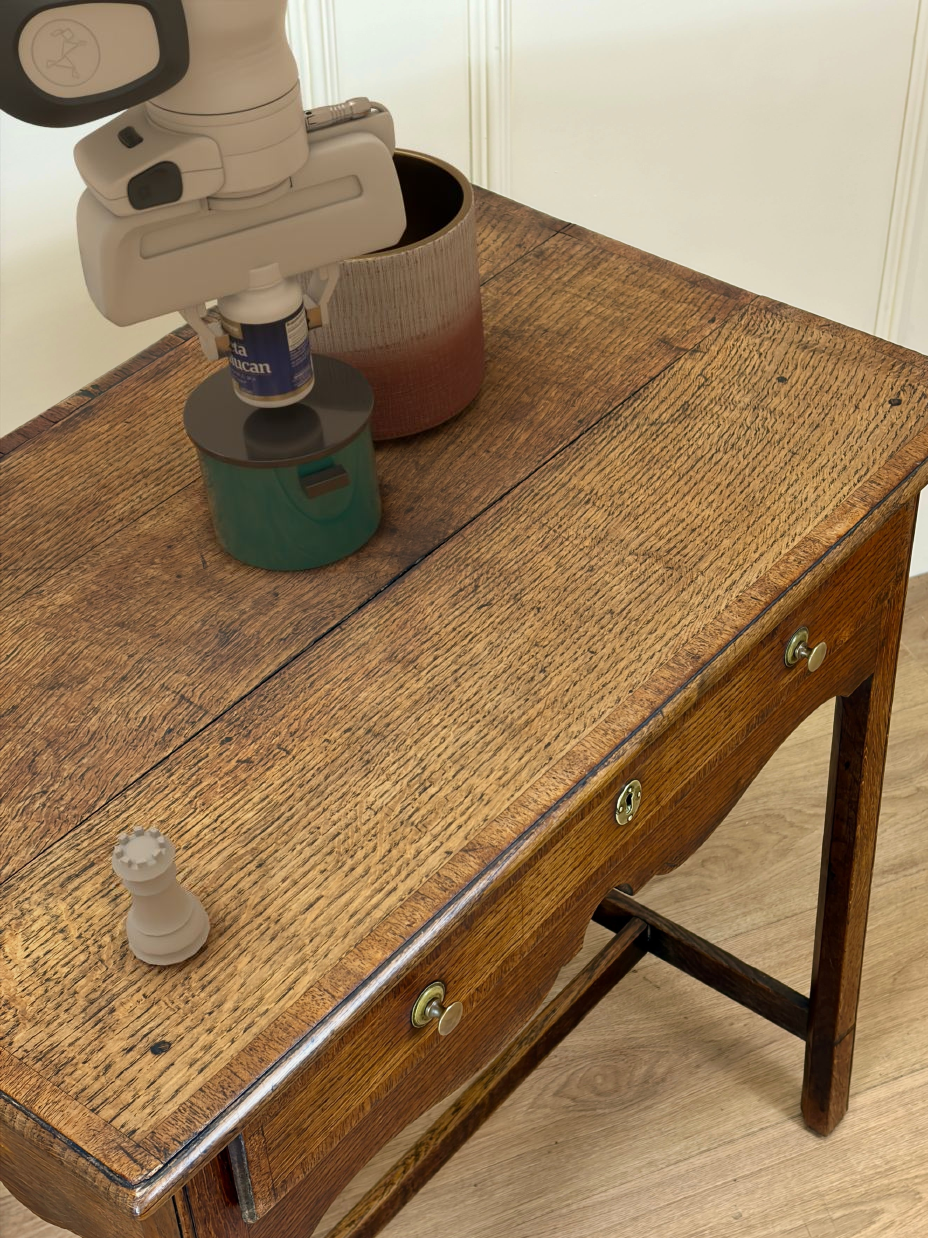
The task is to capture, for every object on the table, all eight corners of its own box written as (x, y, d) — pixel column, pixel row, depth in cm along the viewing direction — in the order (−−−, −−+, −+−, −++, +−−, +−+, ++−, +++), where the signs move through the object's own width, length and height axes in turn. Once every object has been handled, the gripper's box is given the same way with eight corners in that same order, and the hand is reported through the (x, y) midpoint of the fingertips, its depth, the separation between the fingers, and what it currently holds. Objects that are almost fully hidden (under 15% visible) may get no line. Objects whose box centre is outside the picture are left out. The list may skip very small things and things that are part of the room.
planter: (320, 311, 126) (294, 130, 115) (517, 345, 121) (510, 160, 110) (223, 428, 114) (183, 240, 103) (436, 470, 110) (419, 278, 99)
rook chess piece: (134, 906, 83) (100, 813, 77) (215, 900, 83) (187, 807, 77) (125, 973, 80) (89, 882, 74) (208, 967, 80) (179, 875, 74)
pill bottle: (220, 403, 98) (192, 268, 91) (256, 359, 101) (232, 226, 94) (294, 416, 96) (272, 281, 89) (328, 372, 100) (309, 238, 93)
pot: (256, 606, 100) (231, 493, 93) (177, 492, 109) (150, 380, 102) (424, 542, 104) (413, 428, 97) (335, 437, 113) (319, 326, 106)
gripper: (367, 71, 92) (388, 273, 101) (44, 154, 85) (101, 363, 95) (413, 108, 88) (430, 315, 98) (79, 198, 81) (134, 411, 91)
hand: (266, 339), depth 96 cm, fingers closed on pill bottle, 5 cm apart
